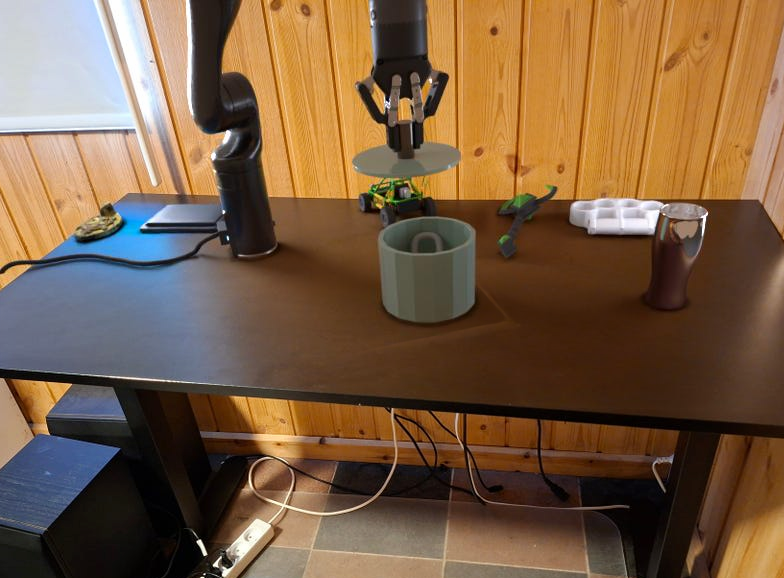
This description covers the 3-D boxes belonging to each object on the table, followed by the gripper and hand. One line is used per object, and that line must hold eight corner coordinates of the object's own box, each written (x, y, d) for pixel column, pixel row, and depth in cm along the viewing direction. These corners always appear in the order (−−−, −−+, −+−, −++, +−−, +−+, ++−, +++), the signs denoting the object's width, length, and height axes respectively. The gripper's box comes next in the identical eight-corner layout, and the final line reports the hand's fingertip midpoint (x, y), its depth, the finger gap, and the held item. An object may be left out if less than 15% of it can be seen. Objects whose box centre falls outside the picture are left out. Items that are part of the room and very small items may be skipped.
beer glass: (687, 292, 102) (707, 203, 94) (689, 313, 97) (711, 220, 89) (641, 288, 105) (657, 200, 96) (641, 308, 99) (657, 217, 91)
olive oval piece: (105, 246, 139) (133, 219, 151) (100, 226, 136) (129, 200, 149) (64, 243, 140) (95, 216, 152) (58, 223, 137) (91, 197, 149)
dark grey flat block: (135, 224, 141) (166, 199, 153) (137, 232, 142) (168, 207, 154) (218, 224, 137) (244, 199, 149) (220, 233, 138) (245, 207, 150)
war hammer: (530, 227, 111) (556, 166, 133) (466, 248, 118) (500, 187, 140) (542, 256, 114) (566, 192, 136) (478, 275, 121) (510, 210, 143)
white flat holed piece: (571, 238, 123) (567, 211, 135) (670, 239, 119) (657, 210, 131) (573, 222, 121) (569, 195, 133) (673, 222, 117) (660, 195, 129)
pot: (398, 332, 98) (393, 262, 92) (374, 290, 111) (368, 225, 104) (489, 314, 101) (490, 244, 94) (455, 274, 113) (455, 210, 107)
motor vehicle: (404, 198, 148) (402, 153, 142) (442, 225, 133) (441, 175, 127) (358, 208, 145) (354, 162, 139) (392, 237, 129) (388, 186, 124)
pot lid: (367, 189, 86) (362, 143, 83) (342, 158, 99) (338, 117, 96) (478, 171, 89) (478, 126, 86) (440, 143, 102) (438, 103, 99)
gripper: (439, 9, 88) (441, 137, 97) (341, 20, 85) (353, 150, 95) (458, 13, 82) (459, 149, 91) (353, 25, 79) (365, 163, 89)
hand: (405, 149), depth 93 cm, fingers closed on pot lid, 2 cm apart
